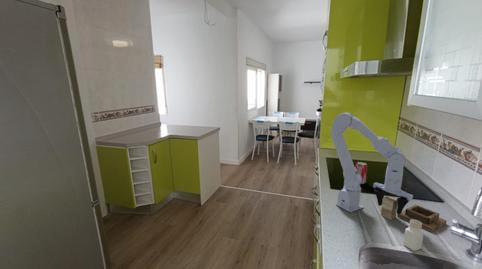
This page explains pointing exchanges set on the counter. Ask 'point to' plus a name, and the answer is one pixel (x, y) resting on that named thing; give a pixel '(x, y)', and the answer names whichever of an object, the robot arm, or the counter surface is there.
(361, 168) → the beverage can
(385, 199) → the birch peg
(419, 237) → the salt shaker
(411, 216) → the peg holder
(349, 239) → the counter surface
